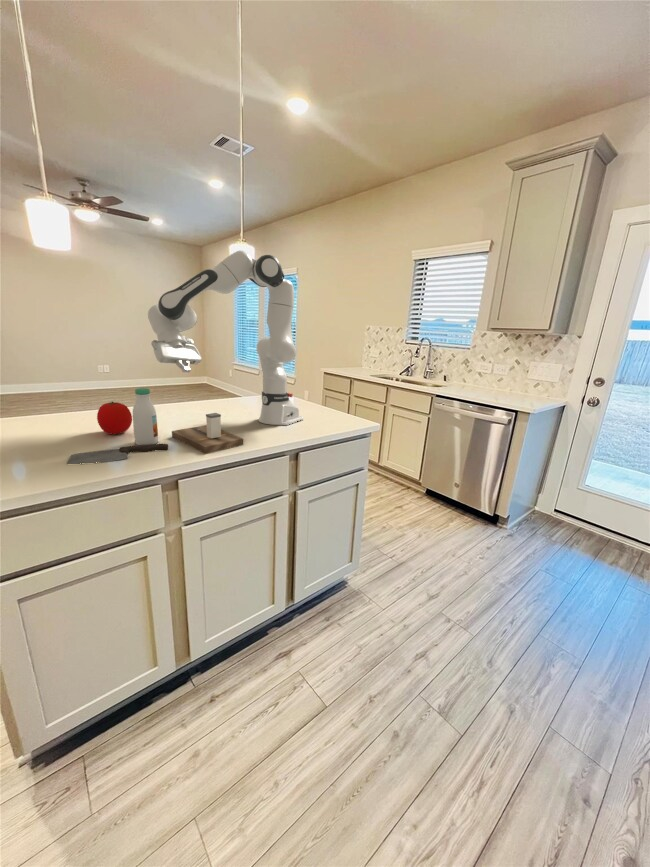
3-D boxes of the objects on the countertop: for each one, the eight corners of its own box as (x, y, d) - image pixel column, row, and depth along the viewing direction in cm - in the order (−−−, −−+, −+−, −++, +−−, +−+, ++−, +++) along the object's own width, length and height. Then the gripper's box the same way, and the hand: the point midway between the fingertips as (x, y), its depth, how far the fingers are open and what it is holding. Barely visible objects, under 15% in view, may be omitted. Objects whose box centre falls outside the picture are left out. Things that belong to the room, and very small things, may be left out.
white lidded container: (216, 434, 135) (215, 412, 133) (221, 436, 133) (220, 414, 131) (206, 436, 132) (205, 414, 129) (211, 438, 130) (210, 416, 127)
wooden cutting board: (208, 430, 149) (208, 424, 149) (243, 444, 135) (243, 438, 134) (172, 437, 138) (171, 430, 137) (205, 453, 123) (205, 446, 122)
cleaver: (167, 446, 128) (166, 440, 128) (171, 455, 121) (171, 449, 120) (68, 458, 113) (67, 451, 113) (65, 468, 106) (64, 462, 105)
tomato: (111, 428, 144) (107, 397, 140) (139, 430, 144) (136, 399, 140) (90, 437, 132) (86, 404, 128) (121, 439, 132) (117, 406, 128)
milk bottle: (149, 447, 125) (144, 391, 120) (130, 444, 127) (124, 389, 121) (163, 441, 133) (159, 388, 127) (144, 438, 134) (140, 386, 128)
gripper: (154, 334, 133) (170, 366, 131) (195, 340, 151) (210, 367, 149) (145, 344, 135) (160, 375, 134) (187, 348, 154) (201, 376, 152)
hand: (187, 371), depth 142 cm, fingers closed
